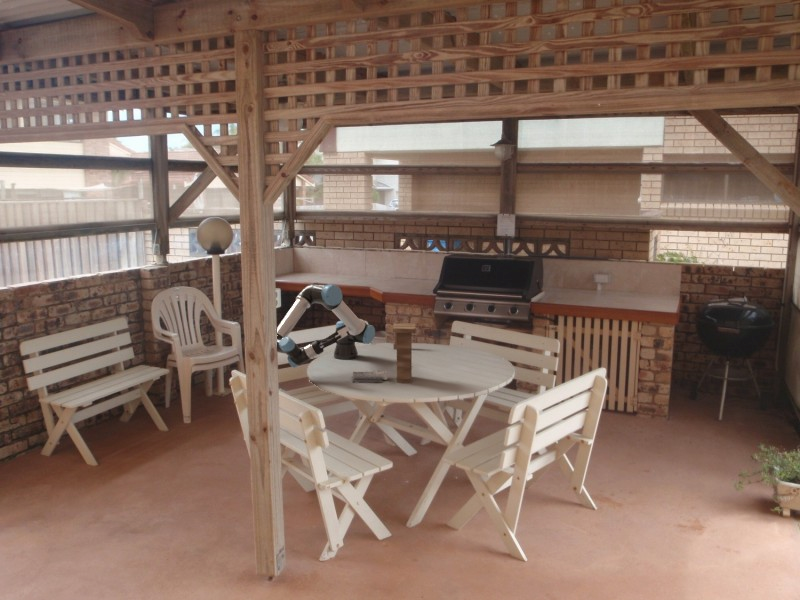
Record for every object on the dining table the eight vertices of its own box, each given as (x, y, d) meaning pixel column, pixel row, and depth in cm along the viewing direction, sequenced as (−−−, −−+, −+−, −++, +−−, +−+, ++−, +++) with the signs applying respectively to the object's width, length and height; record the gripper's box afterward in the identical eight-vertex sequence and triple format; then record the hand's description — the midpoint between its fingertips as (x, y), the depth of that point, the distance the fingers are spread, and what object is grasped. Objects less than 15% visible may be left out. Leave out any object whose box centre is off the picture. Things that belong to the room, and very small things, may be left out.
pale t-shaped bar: (353, 376, 384) (353, 371, 384) (387, 376, 384) (387, 371, 384) (352, 379, 378) (352, 374, 378) (387, 379, 378) (387, 374, 378)
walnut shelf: (393, 375, 389) (393, 323, 384) (414, 375, 389) (415, 323, 384) (392, 383, 373) (392, 328, 368) (415, 383, 373) (415, 329, 368)
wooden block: (409, 349, 452) (409, 322, 449) (393, 349, 453) (393, 322, 450) (410, 348, 455) (410, 321, 452) (394, 347, 457) (394, 321, 454)
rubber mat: (354, 375, 388) (354, 374, 388) (382, 375, 388) (382, 374, 388) (352, 382, 374) (352, 381, 374) (381, 382, 374) (381, 381, 374)
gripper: (320, 349, 392) (352, 331, 390) (314, 360, 367) (349, 341, 365) (313, 338, 391) (346, 320, 389) (307, 348, 366) (341, 329, 364)
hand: (347, 330), depth 377 cm, fingers open, 13 cm apart
